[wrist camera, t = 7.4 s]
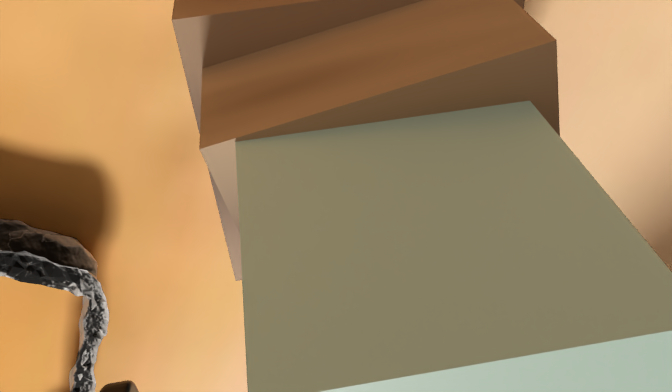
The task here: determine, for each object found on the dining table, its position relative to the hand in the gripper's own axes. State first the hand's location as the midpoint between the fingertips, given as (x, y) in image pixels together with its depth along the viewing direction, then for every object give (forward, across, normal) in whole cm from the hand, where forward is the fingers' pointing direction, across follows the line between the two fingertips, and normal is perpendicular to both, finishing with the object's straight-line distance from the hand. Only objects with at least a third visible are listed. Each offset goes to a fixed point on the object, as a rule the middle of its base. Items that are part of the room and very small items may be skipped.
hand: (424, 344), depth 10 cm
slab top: (+6, 0, 0) cm, 6 cm away
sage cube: (+3, 0, 0) cm, 3 cm away
